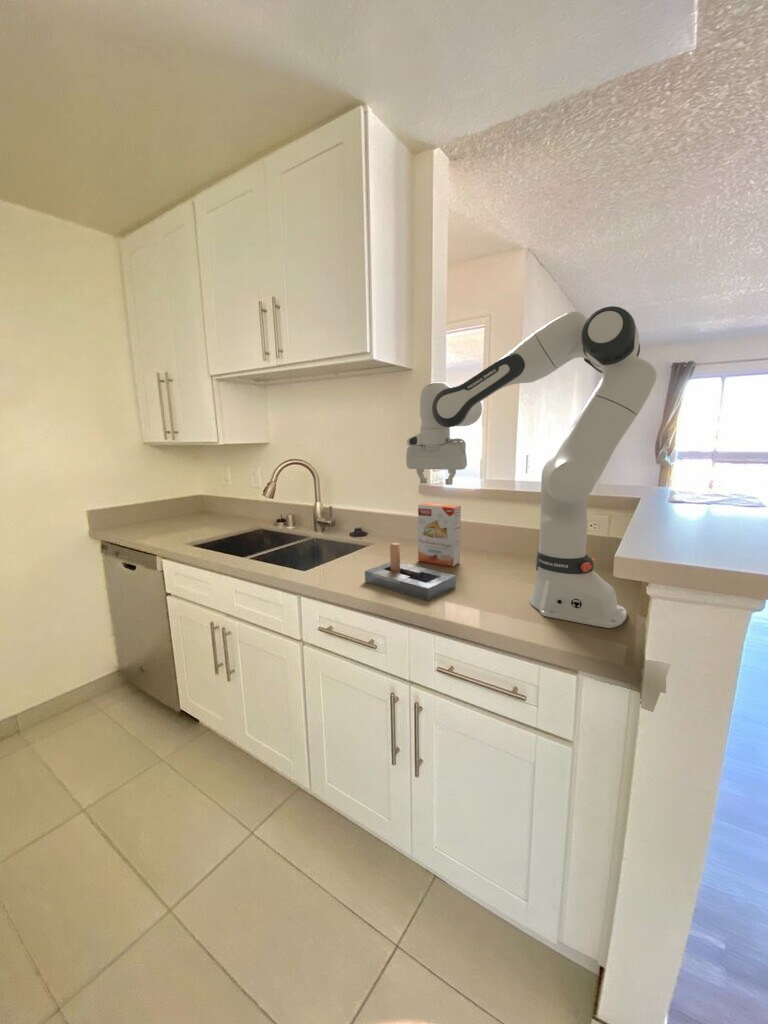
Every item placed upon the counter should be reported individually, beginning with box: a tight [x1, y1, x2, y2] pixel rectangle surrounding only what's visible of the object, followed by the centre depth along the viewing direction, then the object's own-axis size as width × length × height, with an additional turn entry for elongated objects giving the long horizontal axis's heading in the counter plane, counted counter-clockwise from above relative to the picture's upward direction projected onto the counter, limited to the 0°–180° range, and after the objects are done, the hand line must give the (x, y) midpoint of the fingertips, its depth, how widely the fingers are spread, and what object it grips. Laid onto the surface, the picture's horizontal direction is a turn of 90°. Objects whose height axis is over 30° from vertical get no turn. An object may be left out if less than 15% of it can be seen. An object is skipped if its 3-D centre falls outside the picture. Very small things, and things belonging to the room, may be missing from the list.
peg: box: [389, 542, 401, 574], centre depth 128 cm, size 5×5×11 cm
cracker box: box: [417, 502, 462, 568], centre depth 146 cm, size 14×6×21 cm, turn 55°
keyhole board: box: [364, 561, 457, 602], centre depth 126 cm, size 24×14×4 cm, turn 48°
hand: (435, 484), depth 128 cm, fingers open, 8 cm apart
